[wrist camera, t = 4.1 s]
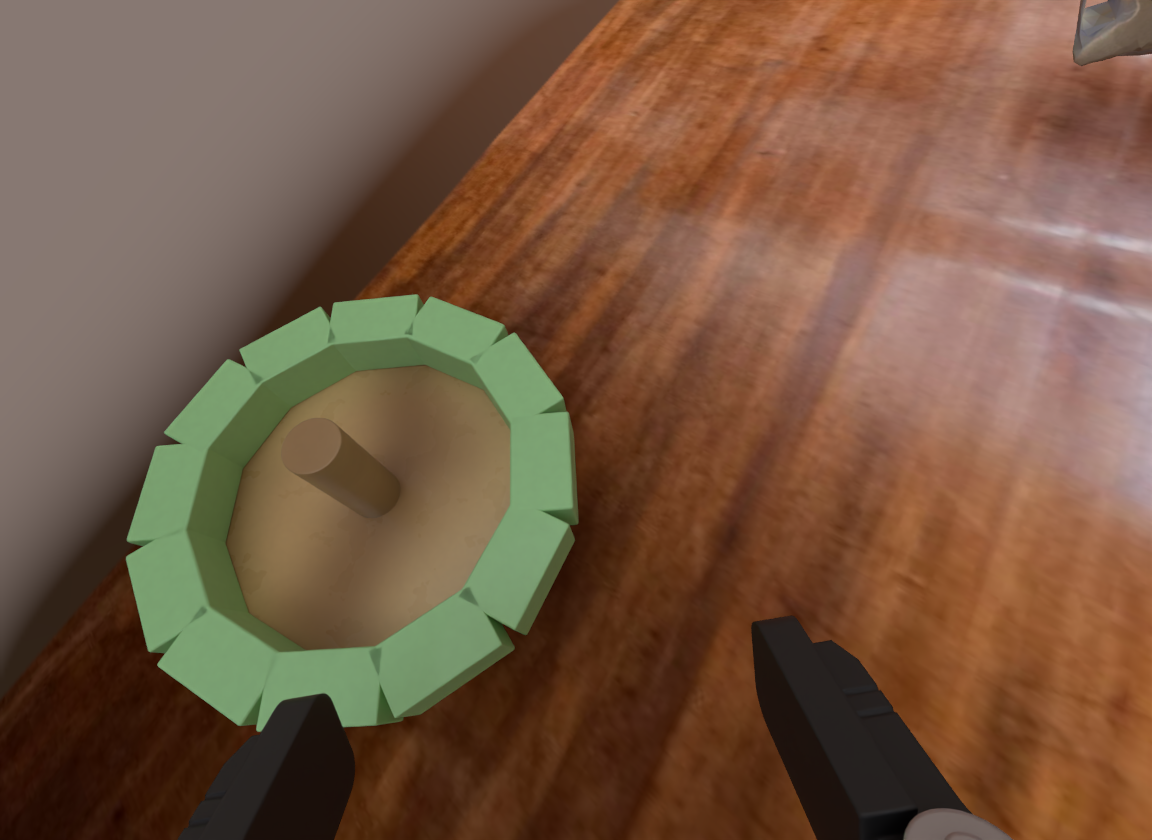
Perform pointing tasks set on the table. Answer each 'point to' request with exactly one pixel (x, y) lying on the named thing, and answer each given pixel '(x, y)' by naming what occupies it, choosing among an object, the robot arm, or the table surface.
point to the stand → (369, 505)
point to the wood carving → (1113, 30)
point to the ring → (210, 484)
